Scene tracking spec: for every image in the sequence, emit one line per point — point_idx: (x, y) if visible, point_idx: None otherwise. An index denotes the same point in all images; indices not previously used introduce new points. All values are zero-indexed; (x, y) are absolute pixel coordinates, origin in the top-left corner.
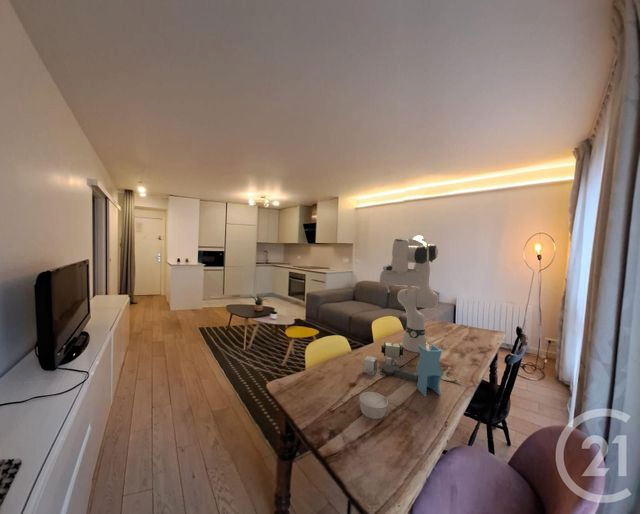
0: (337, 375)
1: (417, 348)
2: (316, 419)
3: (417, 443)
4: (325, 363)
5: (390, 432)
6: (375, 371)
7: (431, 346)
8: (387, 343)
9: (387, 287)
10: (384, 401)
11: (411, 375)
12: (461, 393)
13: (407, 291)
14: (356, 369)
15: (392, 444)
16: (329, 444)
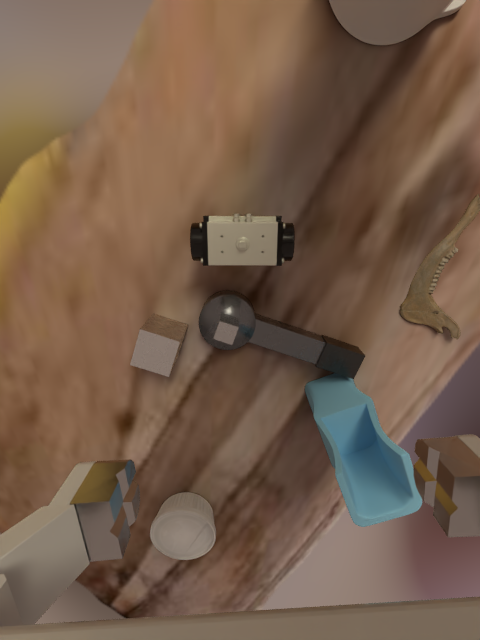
0: (71, 385)
1: (397, 28)
2: None
3: (265, 565)
4: (4, 315)
5: (221, 553)
6: (183, 338)
7: (397, 454)
8: (218, 234)
9: (26, 614)
10: (208, 528)
11: (299, 357)
12: (427, 385)
13: (477, 523)
14: (119, 328)
15: (223, 575)
16: (125, 594)
